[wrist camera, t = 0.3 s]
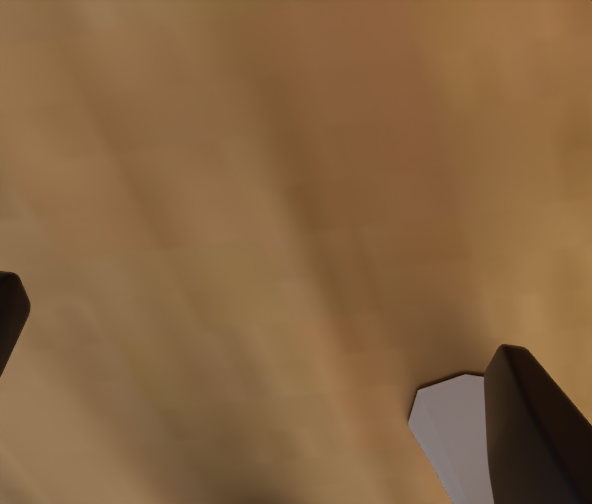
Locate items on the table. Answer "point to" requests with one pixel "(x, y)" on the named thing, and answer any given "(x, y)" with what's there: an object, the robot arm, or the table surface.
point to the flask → (455, 437)
